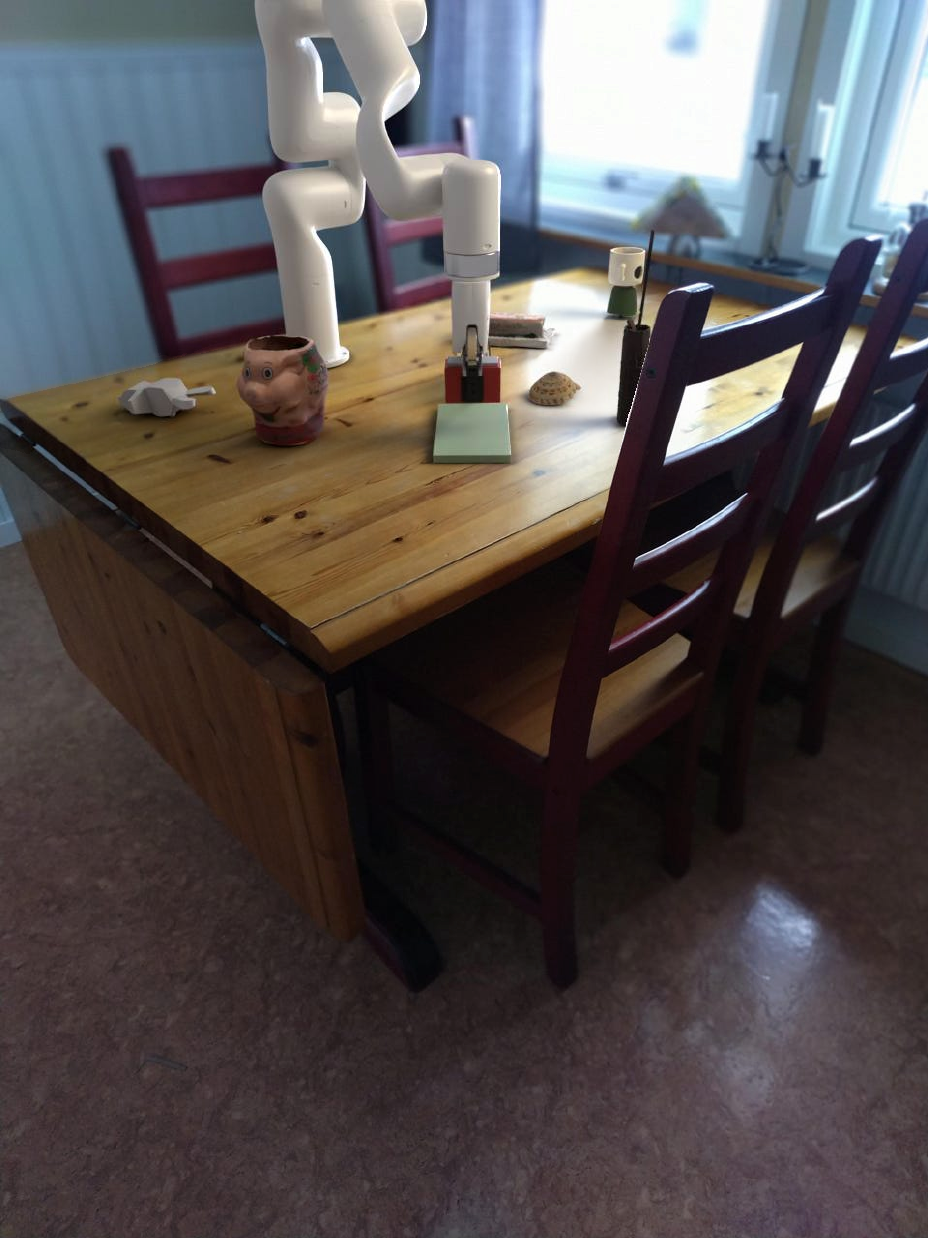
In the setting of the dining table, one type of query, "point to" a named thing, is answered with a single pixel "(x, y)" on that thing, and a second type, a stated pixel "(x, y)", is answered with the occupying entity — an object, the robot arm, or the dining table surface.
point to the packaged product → (518, 330)
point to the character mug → (625, 279)
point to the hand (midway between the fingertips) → (472, 394)
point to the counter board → (472, 434)
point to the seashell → (553, 389)
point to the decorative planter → (284, 388)
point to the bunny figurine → (161, 397)
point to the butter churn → (633, 353)
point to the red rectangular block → (455, 369)
